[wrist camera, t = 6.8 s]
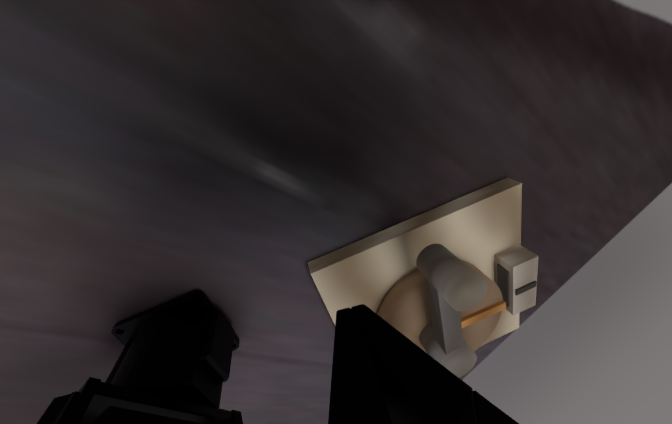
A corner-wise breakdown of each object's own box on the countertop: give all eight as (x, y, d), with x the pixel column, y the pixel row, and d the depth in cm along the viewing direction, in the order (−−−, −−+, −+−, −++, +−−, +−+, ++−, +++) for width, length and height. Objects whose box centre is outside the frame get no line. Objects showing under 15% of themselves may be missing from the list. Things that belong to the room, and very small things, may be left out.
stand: (365, 385, 29) (378, 421, 26) (307, 262, 21) (315, 293, 18) (507, 317, 31) (536, 344, 27) (506, 177, 22) (547, 192, 19)
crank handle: (388, 370, 26) (425, 452, 20) (348, 245, 19) (387, 314, 13) (486, 326, 27) (549, 392, 21) (483, 192, 20) (576, 233, 14)
